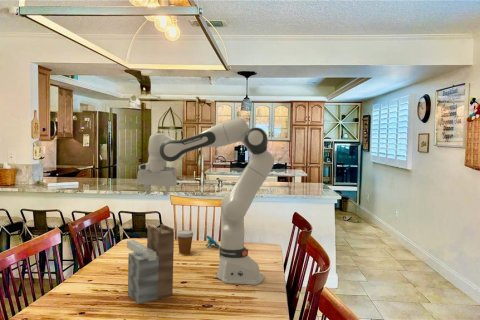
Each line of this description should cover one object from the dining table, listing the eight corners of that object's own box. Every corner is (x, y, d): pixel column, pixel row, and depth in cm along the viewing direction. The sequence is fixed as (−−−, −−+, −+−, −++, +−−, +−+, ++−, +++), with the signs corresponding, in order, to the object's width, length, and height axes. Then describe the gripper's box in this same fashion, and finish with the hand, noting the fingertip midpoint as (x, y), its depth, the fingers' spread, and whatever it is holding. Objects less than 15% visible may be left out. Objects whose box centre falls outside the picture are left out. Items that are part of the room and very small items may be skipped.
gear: (222, 246, 220) (211, 235, 217) (215, 254, 218) (204, 243, 215) (216, 244, 230) (205, 233, 228) (209, 251, 228) (198, 241, 225)
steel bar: (126, 247, 157) (127, 240, 157) (133, 246, 159) (133, 239, 158) (148, 261, 139) (148, 253, 139) (156, 259, 141) (156, 252, 141)
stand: (127, 294, 149) (129, 227, 148) (160, 286, 158) (161, 223, 157) (138, 303, 141) (140, 233, 140) (172, 295, 150) (174, 228, 149)
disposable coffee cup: (172, 252, 209) (173, 232, 209) (184, 249, 217) (184, 229, 216) (185, 256, 204) (185, 234, 203) (196, 252, 211) (197, 231, 211)
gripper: (179, 167, 178) (178, 195, 179) (142, 165, 184) (142, 192, 184) (173, 167, 172) (172, 196, 173) (135, 165, 178) (134, 194, 178)
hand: (156, 194), depth 179 cm, fingers open, 8 cm apart
